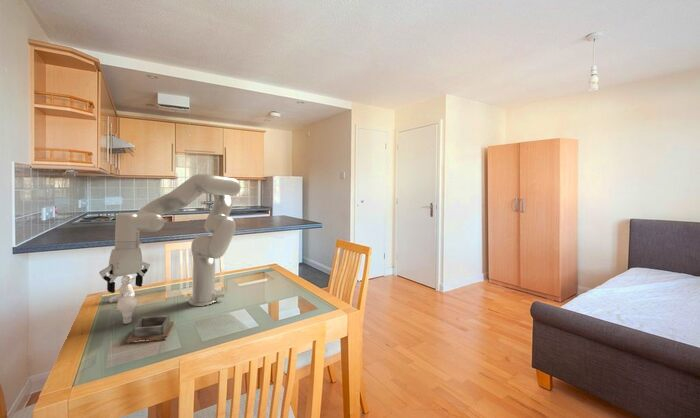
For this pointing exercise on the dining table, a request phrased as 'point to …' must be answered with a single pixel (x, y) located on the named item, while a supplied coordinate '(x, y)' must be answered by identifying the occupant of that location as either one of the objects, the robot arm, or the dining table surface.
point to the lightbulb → (127, 307)
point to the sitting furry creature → (124, 289)
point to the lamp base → (151, 329)
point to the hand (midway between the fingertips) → (125, 289)
